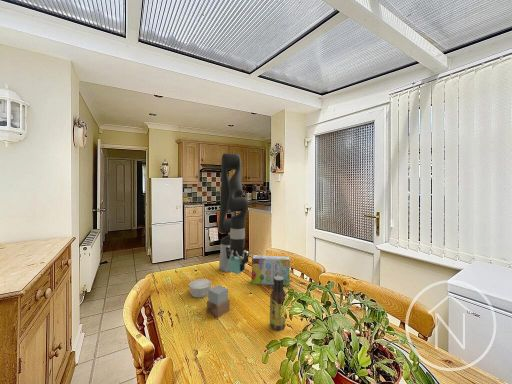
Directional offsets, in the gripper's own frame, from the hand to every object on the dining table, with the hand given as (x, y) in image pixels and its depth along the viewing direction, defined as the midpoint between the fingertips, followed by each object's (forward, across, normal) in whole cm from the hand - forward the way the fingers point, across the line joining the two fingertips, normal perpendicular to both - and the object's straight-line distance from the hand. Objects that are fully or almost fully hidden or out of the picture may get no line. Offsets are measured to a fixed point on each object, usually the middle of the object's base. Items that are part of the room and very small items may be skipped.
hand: (236, 268), depth 117 cm
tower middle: (+8, +4, -17) cm, 19 cm away
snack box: (+13, +8, +21) cm, 26 cm away
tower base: (+13, +4, -17) cm, 22 cm away
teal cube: (+1, 0, 0) cm, 1 cm away
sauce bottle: (+12, +30, -10) cm, 35 cm away
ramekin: (+13, -14, -11) cm, 23 cm away
